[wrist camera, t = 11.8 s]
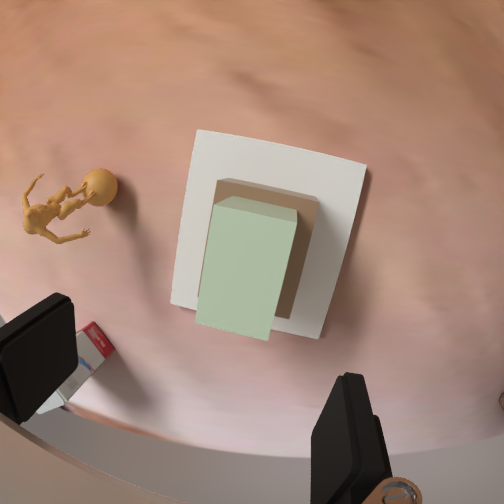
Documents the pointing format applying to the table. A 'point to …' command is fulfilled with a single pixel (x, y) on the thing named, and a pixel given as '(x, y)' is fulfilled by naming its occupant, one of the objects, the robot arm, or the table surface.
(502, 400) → the block
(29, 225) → the figurine
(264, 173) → the plate
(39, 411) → the ink box
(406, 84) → the table surface
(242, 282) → the green brick
